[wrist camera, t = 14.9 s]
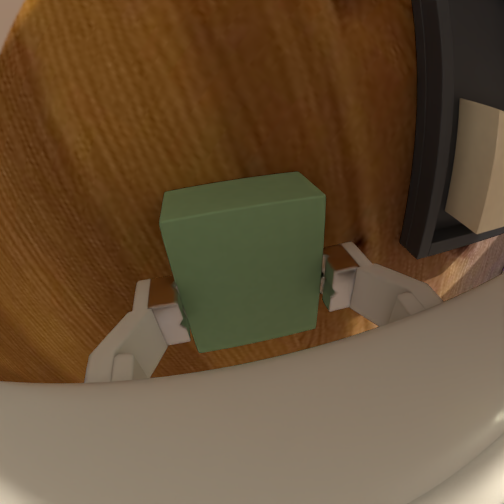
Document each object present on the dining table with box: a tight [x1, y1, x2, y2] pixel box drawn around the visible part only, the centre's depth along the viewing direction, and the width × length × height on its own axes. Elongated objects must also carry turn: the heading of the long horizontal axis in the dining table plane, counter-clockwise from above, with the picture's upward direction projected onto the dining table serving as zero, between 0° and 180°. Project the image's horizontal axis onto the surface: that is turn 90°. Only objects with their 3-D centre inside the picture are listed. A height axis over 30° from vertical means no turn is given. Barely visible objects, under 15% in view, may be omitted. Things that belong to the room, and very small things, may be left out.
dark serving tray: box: [400, 0, 504, 259], centre depth 9 cm, size 10×17×2 cm, turn 4°
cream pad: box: [445, 98, 504, 234], centre depth 10 cm, size 5×6×2 cm
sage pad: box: [159, 172, 326, 353], centre depth 11 cm, size 5×6×2 cm
